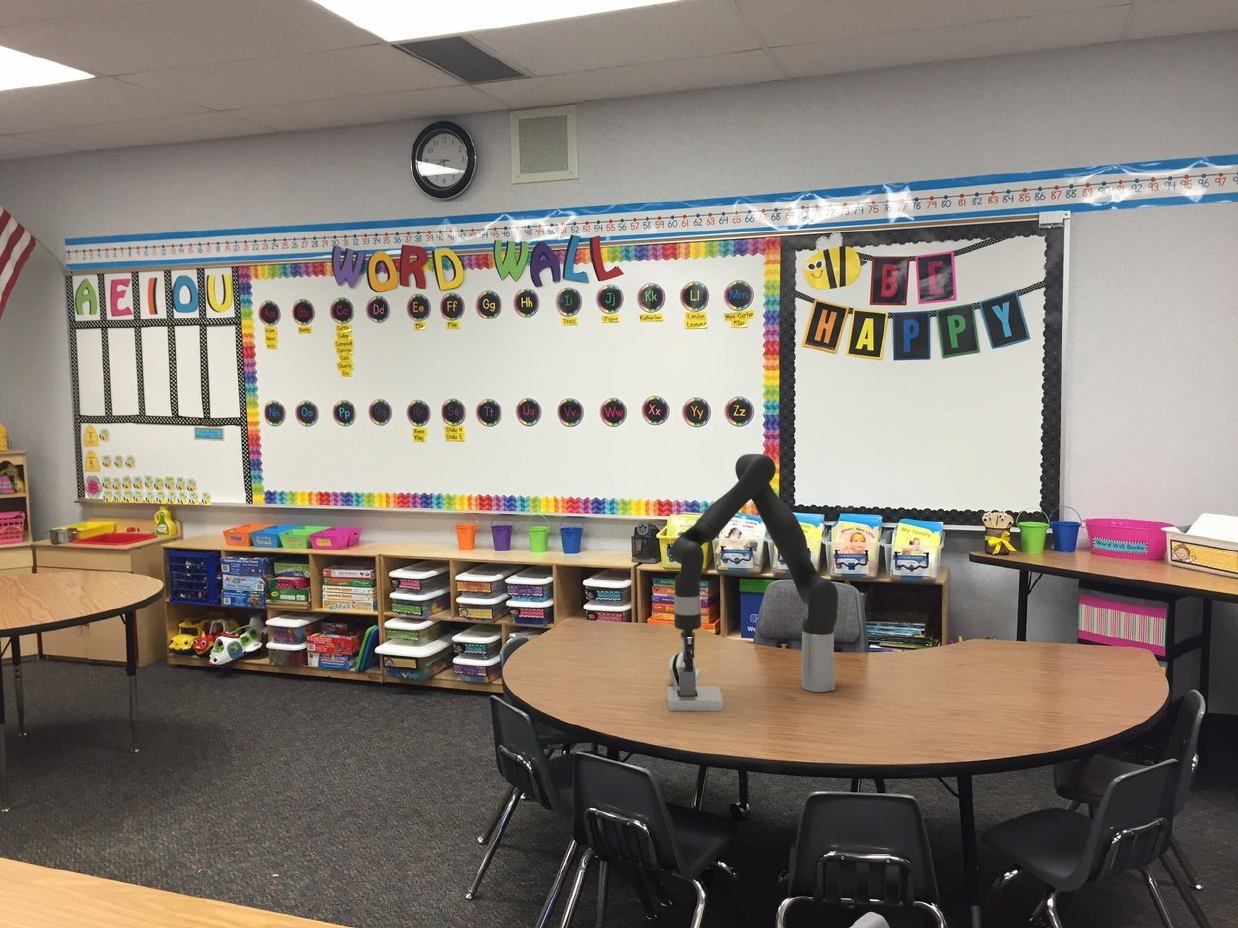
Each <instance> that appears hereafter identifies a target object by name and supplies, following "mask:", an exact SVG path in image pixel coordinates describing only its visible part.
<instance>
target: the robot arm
mask: <svg viewBox="0 0 1238 928" xmlns="http://www.w3.org/2000/svg"><path fill="white" fill-rule="evenodd" d="M776 468H777V467H776V463H775V461H774V459H772V457H771V456H768V455H766V454H762V453H747V454H743V455H741V456H739V457H738V459H737V460H736V462H735V469H734V470H735V471H734V472H735V475H736V478H737V479H738V481H737V482H736V483H735V484H734V485H733V487H731V489H729V490H728V491H727V492H726V493H725V494H723V495H722V496H721V497H719V498H718V499H717V500H716V501H714V502H713V503H712V504H711V505H710V506H709V507H708V508H707V509H706V510H705V511H704V512H703V513H702V515H701V516H700V517H699V518H698V520H696V522H695V523H694V524H693V525H692V526H690V527H689V528H688V529H687V530H685V531H684V532H682V534H681V535H679V536H678V537H677V538H676V539H675V540H674V542H673V543H672V545H671V548H670V557H671V559H672V560H673V561H674V562H676V563H677V564H679V565H680V571H679V572H680V573H678V574H676V576H675V578H674V601H673V609H674V612H673V614H674V617H673V618H674V623H673V624H674V627H675V629H677V630H681V632H680V644H681V648H682V652H683V662H684V663H685V671H686V672H693V663H694V659H695V657H696V655H695V650H696V634H695V632H693V631H694V630H698V629H700V628H701V627H702V602H701V601H702V600H701V583H700V580H701V577H702V573H703V569H704V564H705V563H704V561H705V554H704V550H703V547H702V546H703V545H705V544H706V543H707V544H708V543H712V542H713V541H714V540H715V539H716V538H717V537H718V536H719V534H720V533H721V532H722V531H723V530H724V529H725V528H726V526H727V525H728V523H729V522H730V521H731V520H732V519H733V518H734V517H735V515H737V514H738V512H740V511H741V510H742V508H744V506H745V505H747V503H748V502H749V501H750V500H751V501H752V503H753V505H754V507H755V509H756V511H757V512H758V515H759V517H760V519H761V521H762V522H763V524H764V527H765V528H766V531H767V532H768V535H769V537H770V538H771V540H772V542H773V544H774V546H775V548H776V550H777V552H778V554H779V556H781V558H782V560H783V562H784V563H785V565H786V567H787V569H788V571H789V573H790V576H791V578H792V581H793V583H794V585H795V589H796V591H797V593H798V596H799V598H800V599H801V601H803V603H804V604H805V605H807V606H808V611H807V618H805V619H804V620H803V621H802V625H801V628H802V629H801V631H802V632H801V634H802V635H801V679H800V681H801V688H802V689H803V690H805V691H807V692H808V691H809V692H813V693H826V692H832V691H835V690H836V658H835V656H834V654H835V653H834V652H835V651H834V650H835V649H834V648H835V647H834V645H835V644H834V643H835V641H834V640H835V626H836V624H837V620H838V607H839V593H838V589H837V587H836V584H834V582H832V581H831V580H829V579H826V578H824V577H822V576H821V574H820V573H819V572H818V571H817V569H816V567H815V565H814V564H813V562H812V559H811V558H810V555H809V550H808V542H807V537H806V535H805V532H804V529H803V528H802V526H801V524H800V522H799V520H798V518H797V516H796V515H795V514H794V512H793V511H792V509H790V508H789V506H788V505H787V504H786V503H785V502H784V501H783V500H782V499H781V498H780V497H779V495H778V494H777V493H776V492H775V491H774V489H773V487H772V485H771V482H772V481H773V479H774V478H775V475H776V470H777V469H776Z"/></svg>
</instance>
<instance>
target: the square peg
mask: <svg viewBox="0 0 1238 928" xmlns="http://www.w3.org/2000/svg"><path fill="white" fill-rule="evenodd" d="M695 668H696V666H695V667H693V672H686V671H685V667H679V697H696V687H697V684H696V671H695Z"/></svg>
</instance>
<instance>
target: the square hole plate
mask: <svg viewBox="0 0 1238 928" xmlns="http://www.w3.org/2000/svg"><path fill="white" fill-rule="evenodd" d="M666 699H667V700H666V701H667V705H668V706H667V708H669V709H668V712H724V699H723V695H722V692H721V689H720V686H696V697H679V687H674V686H666Z"/></svg>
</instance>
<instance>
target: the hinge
mask: <svg viewBox="0 0 1238 928" xmlns="http://www.w3.org/2000/svg"><path fill="white" fill-rule="evenodd" d="M679 667H685V663H684V662H683V651H681V652H678V653H675V654H674V655H672V657H671V658H670V660H669V665H668V671H669V675H670V678H671V681H672V684H673V685H672V686H673V687H679ZM693 667H695V671H696V685H697V684H698V683H697V682H699V681H700V679H701V677H702V673H701V670H700V669H697V668H696V666H695V663H694V662H693Z"/></svg>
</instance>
